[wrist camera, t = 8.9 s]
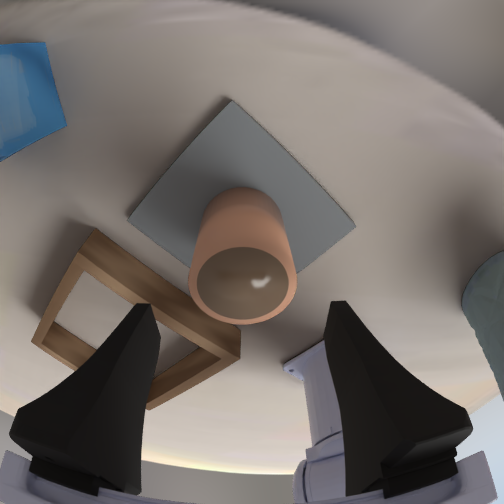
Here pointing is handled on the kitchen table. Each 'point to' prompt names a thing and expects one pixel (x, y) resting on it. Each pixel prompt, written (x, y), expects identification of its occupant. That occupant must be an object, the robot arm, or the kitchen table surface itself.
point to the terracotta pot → (242, 259)
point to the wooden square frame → (164, 309)
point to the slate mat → (233, 176)
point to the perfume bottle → (26, 97)
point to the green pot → (488, 312)
